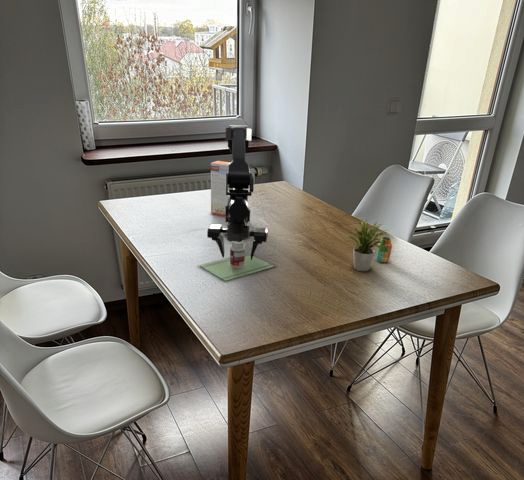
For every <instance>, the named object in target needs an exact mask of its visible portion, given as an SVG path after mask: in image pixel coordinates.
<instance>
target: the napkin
mask: <svg viewBox="0 0 524 480" xmlns="http://www.w3.org/2000/svg"><path fill="white" fill-rule="evenodd" d="M199 267H200V268H202V269H203V270H205V271H207V272H209V273H211V274H212V275H214V276H215V277H217V278H219V279H221V280H222V281H224V282H227V281H230V280H234V279H239V278H241V277H245V276H249V275H252V274H255V273H259V272H262V271H265V270H269V269H272V268H275V266H274V265H272V264H270V263H268V262H266V261H265V260H263V259H261V258H260V257H259V258H258V257H257V256H254V255H253V258H252V260H251V253H245V265H244V267H242V268H233V267H231V266H230V257H229V258H228V257H227V258H223V259H221V260H215V261H213V262H209V263H205V264H201V265H199Z"/></svg>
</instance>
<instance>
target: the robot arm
mask: <svg viewBox="0 0 524 480" xmlns="http://www.w3.org/2000/svg"><path fill="white" fill-rule="evenodd" d="M225 141H227V148H228V150H229V152H230V153H231V162H229V163H230V164H229V173H227V172H226V195H229V198H228V205H227V206H226V217H225V219H224V220H225V223H227V225H226V226H227V228H223V224H217V223H215V224H214V223H211V224H210V225H209V227H208V228H207V231H206V233H207V234H206V236H207V238H208V239H211V241H214V242H215V243H216V244H217V247H218V250H219V252H220V254H221V257H222V258H223V259H225V251H226V250H225V238H224V237H226V240H227V241H228V242H232V241H237V242H242V241H244V239H247V238H251V237H252V238H253V240H252V244H251V245H252V246H251V253H250V254H251V260H252V258H253V256H254V255H255V253H256V249H257V248H258V246H259V245H262V244H263V243H266V242H267V241H268V235H269V230H268V228H267V227H259V226H257V227H256V226H255V229H254V230H251V229H250V225H248V224H249V223H250V222H251V209H250V207H249V197H252V194H253V193H254V176H253V173H251V172H250V165H249V164H248V163H247V161H246V152H247V151H248V149H249V146H250V142H252V128H249V127H248V125H239V124H229V127H225ZM228 185H229V186H228ZM228 188H230V189H229V191H228ZM244 189H246V190H244Z"/></svg>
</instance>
